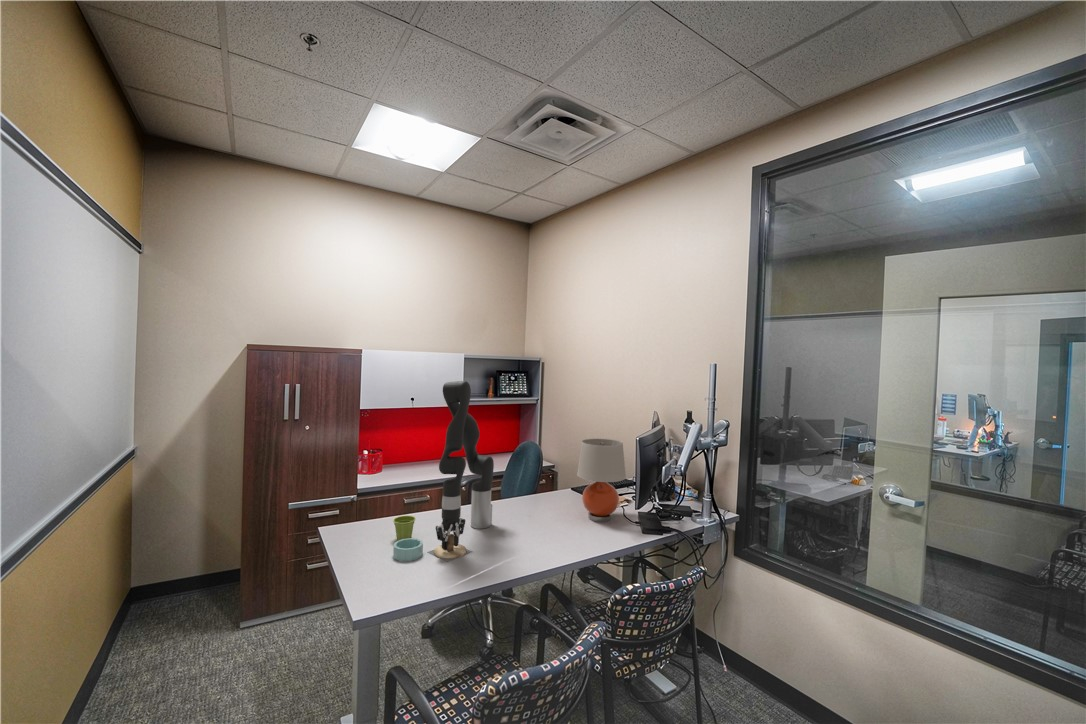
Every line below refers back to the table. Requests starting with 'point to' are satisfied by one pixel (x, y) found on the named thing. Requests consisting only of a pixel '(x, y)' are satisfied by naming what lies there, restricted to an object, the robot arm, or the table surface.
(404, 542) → the bowl
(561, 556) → the table surface
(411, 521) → the plant pot
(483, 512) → the robot arm
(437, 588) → the table surface
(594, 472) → the lamp
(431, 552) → the mat
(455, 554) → the lid
